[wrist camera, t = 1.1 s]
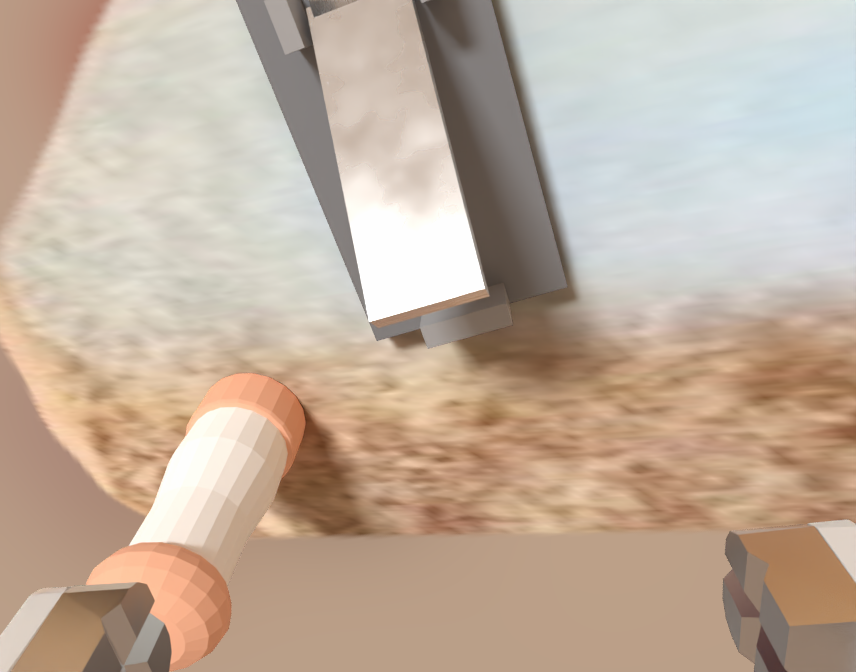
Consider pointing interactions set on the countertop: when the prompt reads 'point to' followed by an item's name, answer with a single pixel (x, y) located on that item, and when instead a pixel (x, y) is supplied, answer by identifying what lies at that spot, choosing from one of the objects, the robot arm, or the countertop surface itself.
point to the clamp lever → (394, 160)
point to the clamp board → (471, 143)
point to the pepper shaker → (210, 509)
